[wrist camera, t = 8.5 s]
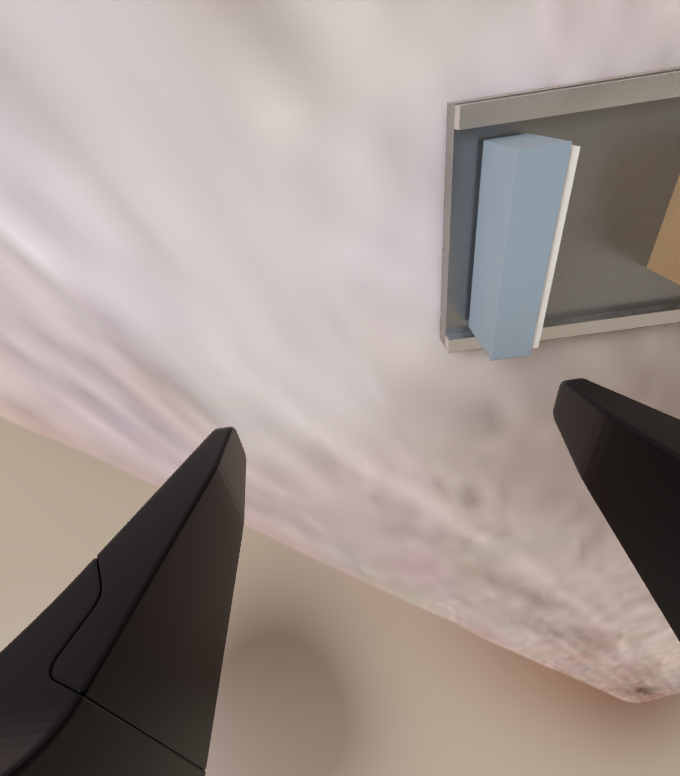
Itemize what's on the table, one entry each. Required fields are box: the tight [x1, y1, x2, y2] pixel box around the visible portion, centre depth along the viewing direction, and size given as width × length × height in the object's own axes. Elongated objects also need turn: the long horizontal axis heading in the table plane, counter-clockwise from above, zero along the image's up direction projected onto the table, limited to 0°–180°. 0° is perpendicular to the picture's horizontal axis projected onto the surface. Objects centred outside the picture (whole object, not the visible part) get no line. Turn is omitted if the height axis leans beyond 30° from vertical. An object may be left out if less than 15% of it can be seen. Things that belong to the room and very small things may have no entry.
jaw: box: [469, 133, 580, 361], centre depth 15 cm, size 2×8×3 cm, turn 7°
